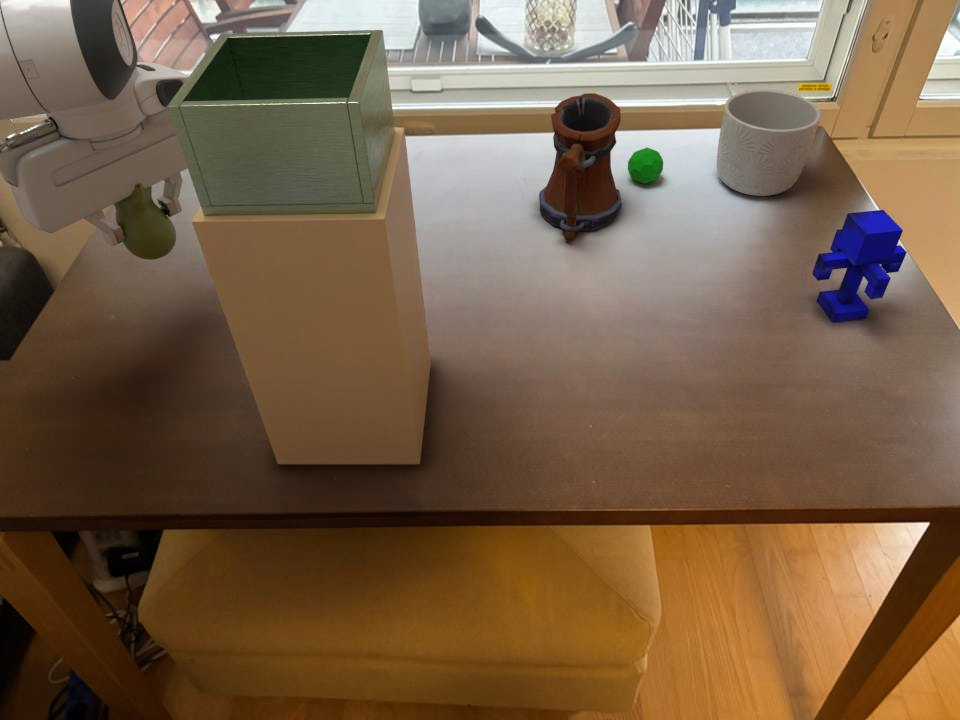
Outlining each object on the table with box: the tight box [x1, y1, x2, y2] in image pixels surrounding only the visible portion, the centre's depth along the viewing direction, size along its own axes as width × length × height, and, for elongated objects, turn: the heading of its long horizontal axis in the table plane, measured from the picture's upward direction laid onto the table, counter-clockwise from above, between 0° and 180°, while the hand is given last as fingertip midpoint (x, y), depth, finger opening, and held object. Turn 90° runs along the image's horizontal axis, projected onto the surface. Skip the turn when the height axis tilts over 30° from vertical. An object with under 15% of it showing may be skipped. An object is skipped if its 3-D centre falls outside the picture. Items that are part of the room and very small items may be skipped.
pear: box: [113, 183, 177, 261], centre depth 78 cm, size 6×5×10 cm
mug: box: [538, 92, 623, 242], centre depth 96 cm, size 18×12×15 cm, turn 164°
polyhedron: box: [627, 147, 664, 184], centre depth 107 cm, size 5×5×5 cm
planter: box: [716, 89, 822, 197], centre depth 104 cm, size 12×12×11 cm
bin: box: [167, 29, 431, 465], centre depth 65 cm, size 14×14×36 cm
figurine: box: [811, 209, 908, 323], centre depth 83 cm, size 8×8×12 cm
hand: (145, 226), depth 79 cm, fingers closed on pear, 5 cm apart
